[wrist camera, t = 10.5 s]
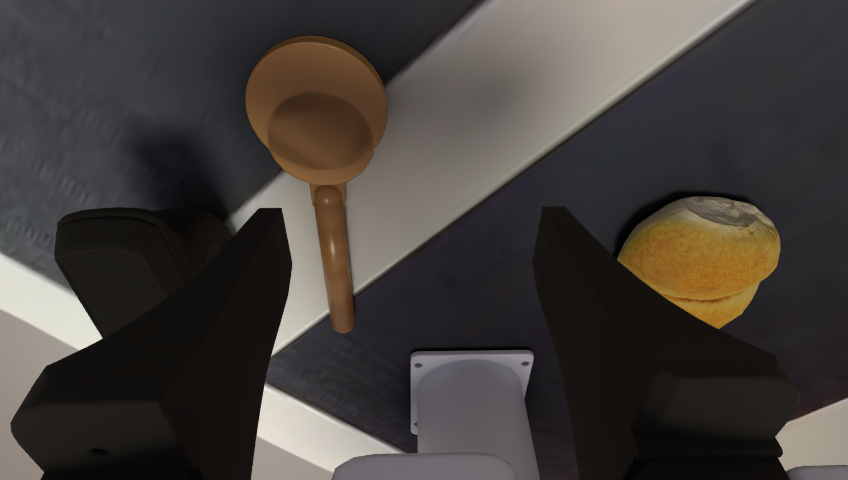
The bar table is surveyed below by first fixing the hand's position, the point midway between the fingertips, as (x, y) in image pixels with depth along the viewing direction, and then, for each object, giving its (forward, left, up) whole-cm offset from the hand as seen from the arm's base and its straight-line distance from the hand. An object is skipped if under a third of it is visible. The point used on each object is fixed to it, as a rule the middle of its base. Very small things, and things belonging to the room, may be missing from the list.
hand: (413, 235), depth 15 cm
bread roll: (-10, -15, -11) cm, 21 cm away
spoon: (-7, +4, -10) cm, 13 cm away
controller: (-8, +11, -11) cm, 17 cm away
